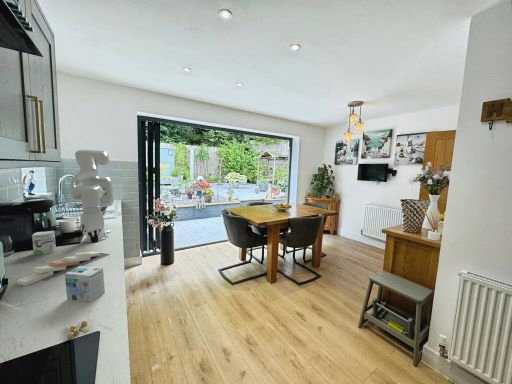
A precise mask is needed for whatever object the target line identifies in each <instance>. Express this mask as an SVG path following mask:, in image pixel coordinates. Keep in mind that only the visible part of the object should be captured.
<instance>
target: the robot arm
mask: <svg viewBox="0 0 512 384" xmlns="http://www.w3.org/2000/svg"><path fill="white" fill-rule="evenodd" d="M74 156H75V160H76V162H77V166H79V170H80V171H79V172H78V173H76V174H75V175H74V176H73V177H72V178H71V180H70V197H71V198H72V199H74V200H75V201H76V200H77V201H78V200H79V201H81V205H82V213H81V214H80V215H81V216H80V222H79V223H80V226H79V227H80V231H81V232H82V235H85V237H84V238H83V242H84V243H92V244H97V243H99V242H100V241H104V240H106V239H107V238H108V237H107V234H111V230H109V229H107V230H104V229H105V228H104V227H105V219H104V214H103V212H102V211H101V210H102V209H103V207H104V208H105V207H111V206H113V205H114V203H115V202H114V201H115V200H114V189H113V187H114V186H113V182H112V179H111V178H110V177H107V176H99V167H98V166H107V165H109V163H110V157H109V154H108V151H106V150H97V149H96V150H92V149H82V150H81V149H80V150H77V151H75V153H74ZM81 183H82V185H79V184H81ZM78 185H79V186H78Z"/></svg>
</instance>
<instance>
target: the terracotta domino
mask: <svg viewBox="0 0 512 384" xmlns="http://www.w3.org/2000/svg"><path fill="white" fill-rule="evenodd" d="M79 263H80V261H76V262H66V261H63V260H58V261H50V262H49V265H48V266H53V267H63V266H70V265H78V264H79Z"/></svg>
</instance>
